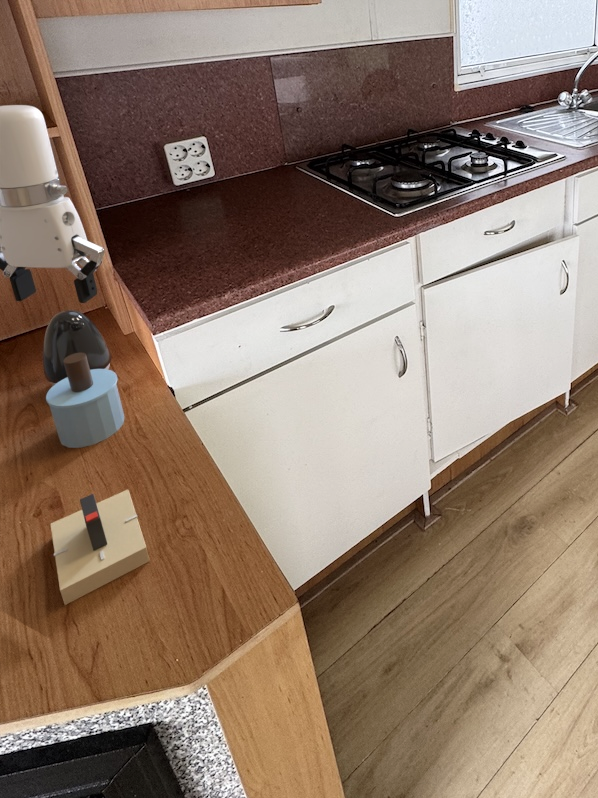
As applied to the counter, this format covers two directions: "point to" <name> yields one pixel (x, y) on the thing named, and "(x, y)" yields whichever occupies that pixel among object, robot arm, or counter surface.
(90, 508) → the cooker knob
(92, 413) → the pot
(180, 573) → the counter surface
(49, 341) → the glossy black egg dome
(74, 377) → the pot lid
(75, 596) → the beige switch box
